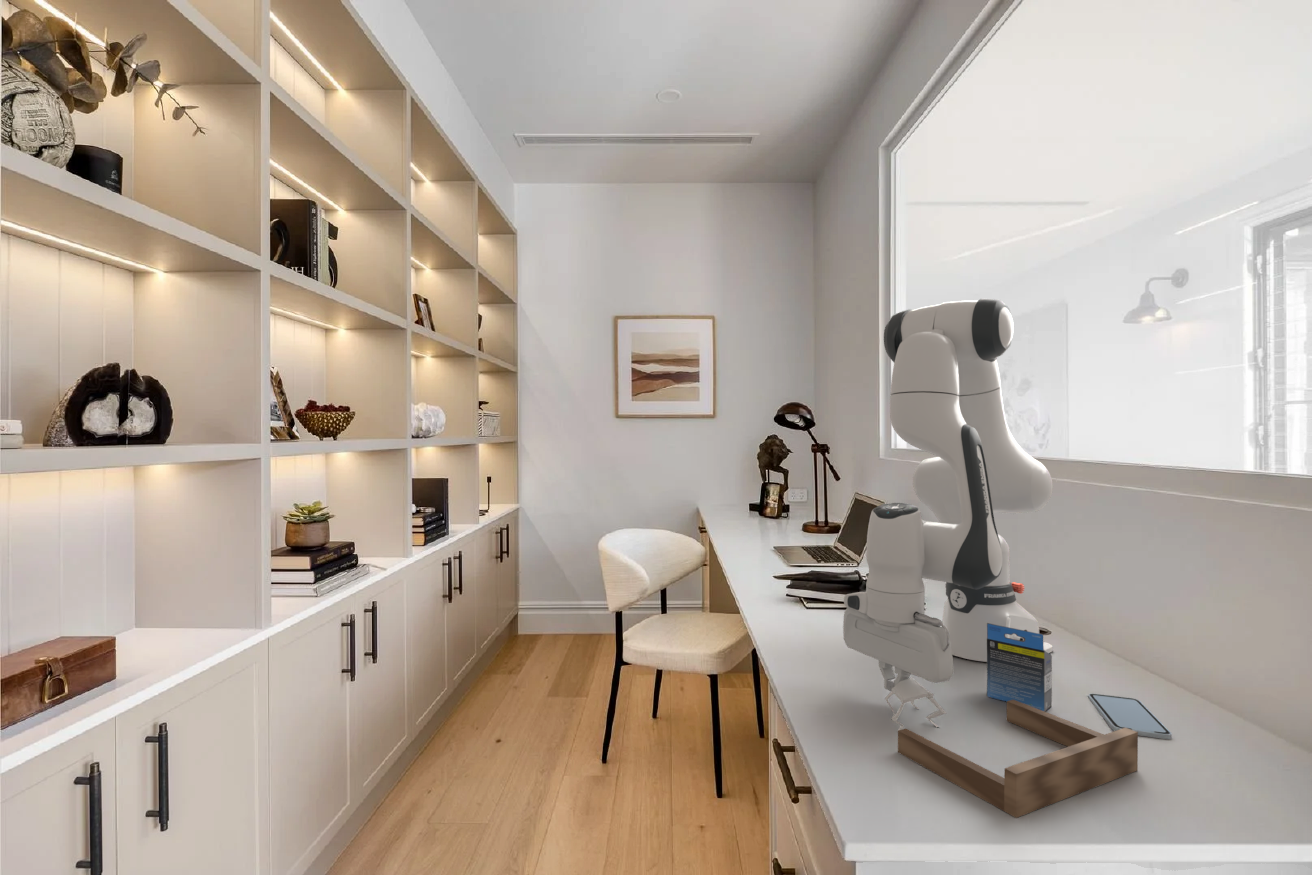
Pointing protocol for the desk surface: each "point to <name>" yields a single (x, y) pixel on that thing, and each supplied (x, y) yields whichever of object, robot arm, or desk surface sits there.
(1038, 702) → the label tape cartridge
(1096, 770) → the walnut bay
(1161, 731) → the smartphone
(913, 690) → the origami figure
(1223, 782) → the desk surface
